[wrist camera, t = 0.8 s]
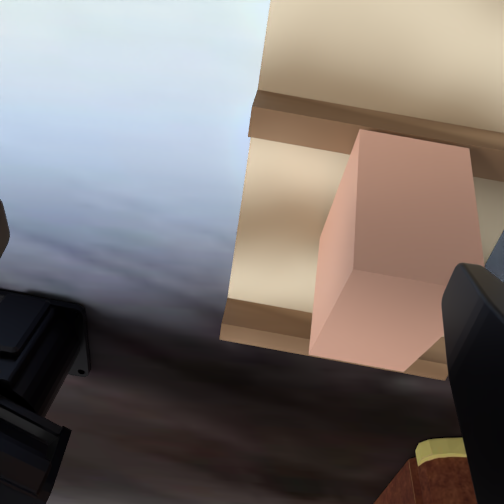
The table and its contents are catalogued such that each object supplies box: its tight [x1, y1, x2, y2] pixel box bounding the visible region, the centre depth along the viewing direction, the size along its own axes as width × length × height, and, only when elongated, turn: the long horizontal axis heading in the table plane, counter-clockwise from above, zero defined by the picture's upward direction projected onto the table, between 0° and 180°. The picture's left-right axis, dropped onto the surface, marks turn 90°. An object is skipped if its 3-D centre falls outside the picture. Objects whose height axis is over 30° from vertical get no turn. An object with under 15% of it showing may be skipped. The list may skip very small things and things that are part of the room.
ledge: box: [219, 0, 504, 381], centre depth 19 cm, size 24×12×4 cm, turn 172°
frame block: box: [309, 129, 485, 372], centre depth 19 cm, size 7×4×6 cm, turn 172°
